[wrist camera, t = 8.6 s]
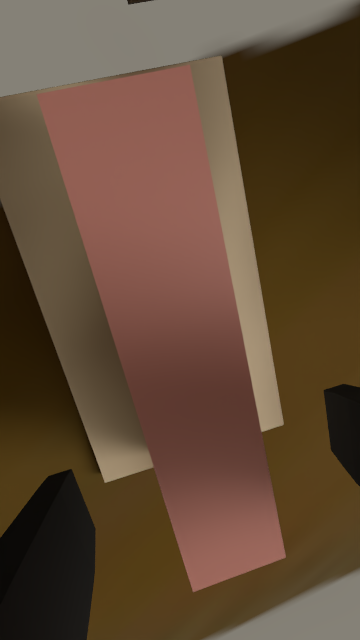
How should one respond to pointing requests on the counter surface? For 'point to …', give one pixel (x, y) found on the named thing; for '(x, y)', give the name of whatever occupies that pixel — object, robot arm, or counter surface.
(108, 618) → the counter surface
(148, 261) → the pink rectangular block
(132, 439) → the tan flat rectangular panel
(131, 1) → the dispenser
